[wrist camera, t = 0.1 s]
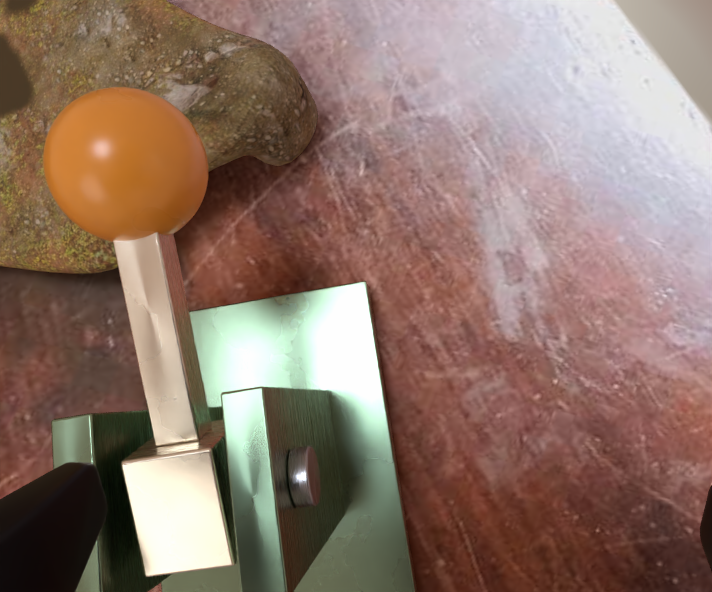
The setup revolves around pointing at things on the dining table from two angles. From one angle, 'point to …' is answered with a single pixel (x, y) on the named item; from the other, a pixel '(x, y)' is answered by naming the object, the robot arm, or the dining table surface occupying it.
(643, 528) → the dining table surface
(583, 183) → the dining table surface
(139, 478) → the switch lever
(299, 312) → the switch bracket
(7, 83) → the decorative stone
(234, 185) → the dining table surface
